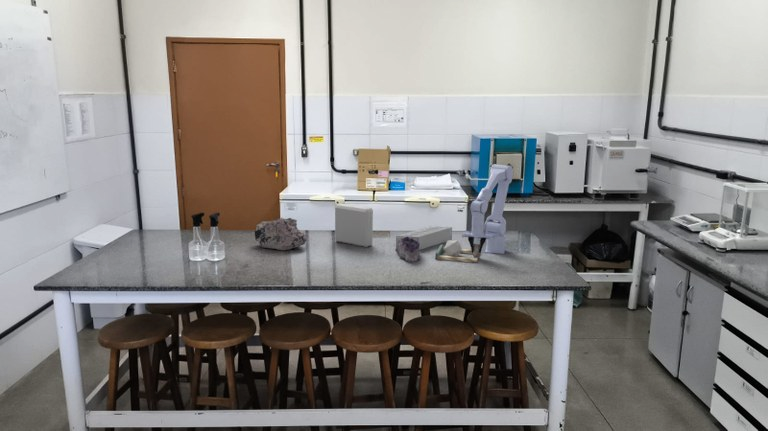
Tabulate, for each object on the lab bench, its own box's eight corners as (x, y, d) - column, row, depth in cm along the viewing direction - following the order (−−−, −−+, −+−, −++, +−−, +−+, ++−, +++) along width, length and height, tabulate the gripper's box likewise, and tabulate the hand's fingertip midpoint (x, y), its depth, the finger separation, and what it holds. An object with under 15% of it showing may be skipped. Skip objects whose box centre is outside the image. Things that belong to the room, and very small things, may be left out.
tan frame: (480, 253, 280) (481, 240, 278) (477, 262, 264) (478, 249, 263) (440, 250, 285) (440, 237, 283) (435, 259, 269) (435, 245, 268)
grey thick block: (375, 244, 293) (375, 207, 289) (366, 248, 286) (366, 210, 282) (342, 238, 304) (342, 202, 300) (333, 241, 297) (333, 205, 293)
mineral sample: (310, 217, 293) (300, 210, 279) (310, 252, 288) (300, 247, 274) (262, 223, 298) (250, 216, 284) (262, 257, 293) (249, 252, 279)
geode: (427, 262, 265) (425, 242, 262) (403, 266, 263) (401, 246, 260) (416, 249, 284) (415, 230, 281) (394, 253, 282) (392, 234, 279)
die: (456, 261, 269) (466, 244, 271) (441, 251, 270) (451, 234, 271) (454, 262, 277) (464, 245, 279) (439, 253, 278) (449, 236, 279)
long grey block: (430, 236, 315) (430, 222, 313) (451, 240, 306) (452, 227, 304) (396, 246, 293) (396, 232, 291) (417, 251, 283) (418, 237, 282)
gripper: (461, 225, 267) (460, 253, 270) (492, 228, 263) (490, 255, 266) (463, 222, 274) (462, 249, 276) (493, 224, 270) (491, 252, 273)
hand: (476, 252), depth 272 cm, fingers closed on tan frame, 3 cm apart
